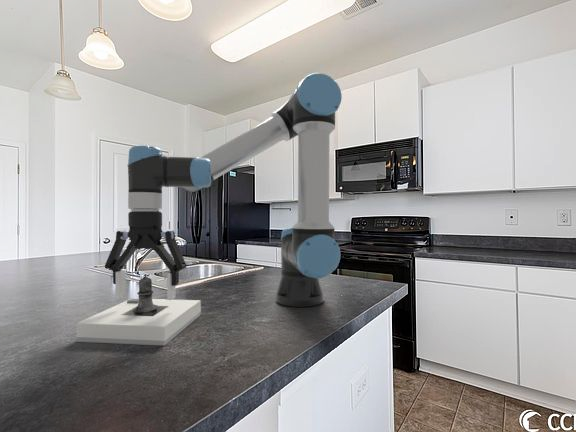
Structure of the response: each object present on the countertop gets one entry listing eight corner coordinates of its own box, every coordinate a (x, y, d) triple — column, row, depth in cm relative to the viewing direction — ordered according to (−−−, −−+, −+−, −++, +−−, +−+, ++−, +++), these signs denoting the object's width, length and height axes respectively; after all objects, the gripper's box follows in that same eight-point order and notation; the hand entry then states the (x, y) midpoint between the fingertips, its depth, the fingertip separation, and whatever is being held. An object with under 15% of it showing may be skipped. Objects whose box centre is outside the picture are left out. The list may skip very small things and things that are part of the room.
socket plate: (200, 314, 85) (200, 298, 85) (164, 345, 66) (164, 323, 66) (131, 312, 88) (131, 296, 87) (76, 341, 68) (76, 320, 68)
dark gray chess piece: (148, 327, 73) (148, 276, 73) (126, 325, 74) (126, 275, 74) (163, 319, 79) (163, 272, 79) (143, 317, 80) (142, 271, 80)
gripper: (199, 210, 79) (200, 295, 79) (108, 210, 81) (109, 292, 81) (187, 210, 71) (187, 303, 72) (87, 210, 74) (87, 300, 74)
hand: (145, 298), depth 76 cm, fingers open, 12 cm apart
